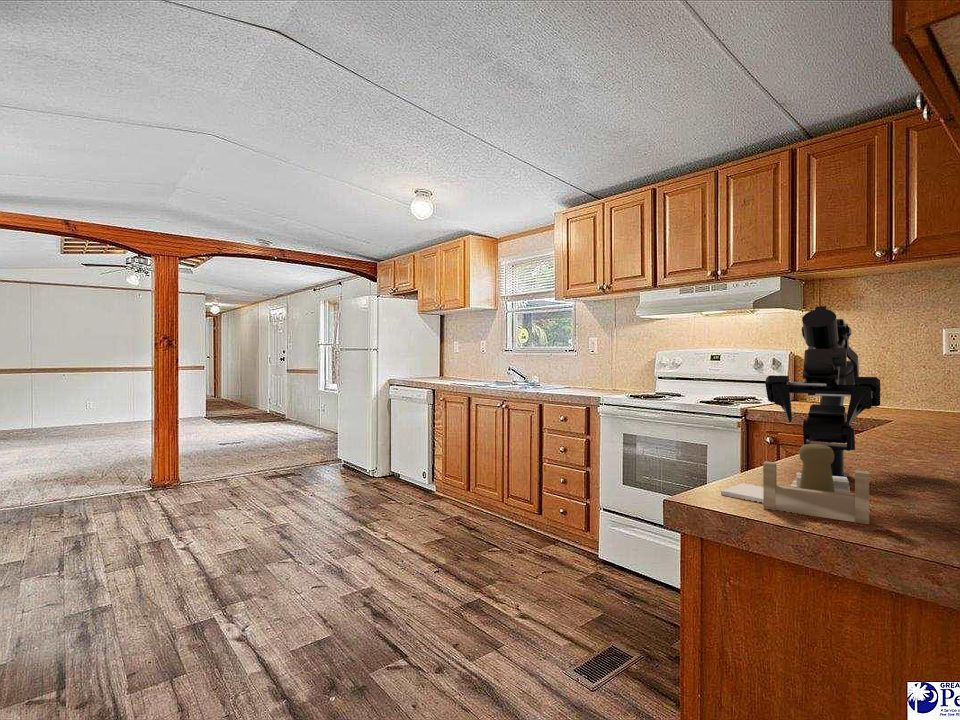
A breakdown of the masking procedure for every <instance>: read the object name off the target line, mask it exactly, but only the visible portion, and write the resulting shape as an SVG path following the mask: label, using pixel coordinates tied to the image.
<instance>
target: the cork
mask: <svg viewBox="0 0 960 720" xmlns="http://www.w3.org/2000/svg"><path fill="white" fill-rule="evenodd" d="M798 452H799V454H798V455H799V458H800V460H801V462H802V466H801V467H802V468H801V472H800V473H801V480H800V487H799V488H802V489H810V490H818V491H826V492H834V493H835V491H834V484H833V478H832V472H831V464H832V462H833V461H834V452H833V450H832V448H830V447H829V446H826V445H821V444H806V445H804V444H803V445H801V447H800V448H799V451H798Z"/></svg>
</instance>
